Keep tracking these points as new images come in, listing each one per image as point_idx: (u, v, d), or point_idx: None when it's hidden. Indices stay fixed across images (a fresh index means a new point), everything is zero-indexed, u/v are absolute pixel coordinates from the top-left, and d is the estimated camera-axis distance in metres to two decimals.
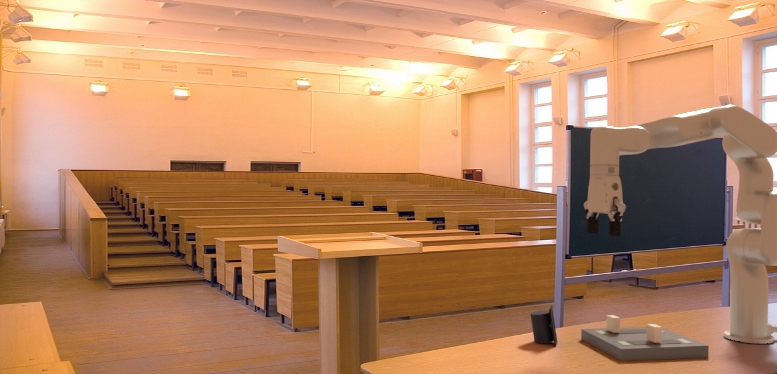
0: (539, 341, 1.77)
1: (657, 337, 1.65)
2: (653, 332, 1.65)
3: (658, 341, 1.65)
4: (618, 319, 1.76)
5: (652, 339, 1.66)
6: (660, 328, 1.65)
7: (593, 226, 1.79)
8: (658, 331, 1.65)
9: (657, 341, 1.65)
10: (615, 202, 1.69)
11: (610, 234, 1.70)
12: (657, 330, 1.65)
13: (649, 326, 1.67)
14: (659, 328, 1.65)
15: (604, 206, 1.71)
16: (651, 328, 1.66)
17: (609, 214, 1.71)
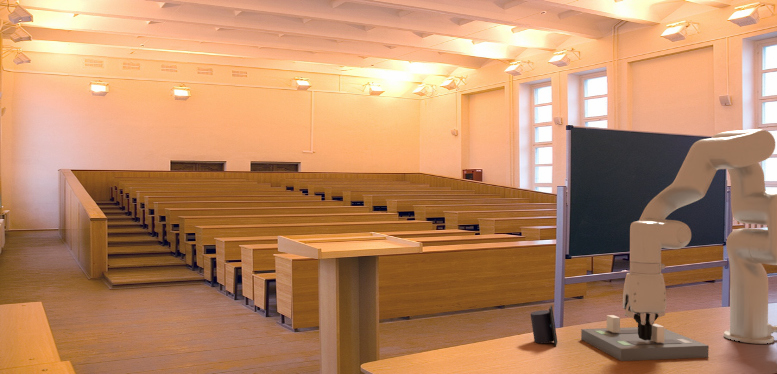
0: (539, 341, 1.77)
1: (660, 337, 1.65)
2: (656, 332, 1.66)
3: (661, 341, 1.65)
4: (618, 319, 1.76)
5: (655, 339, 1.66)
6: (663, 328, 1.65)
7: None
8: (661, 331, 1.65)
9: (660, 341, 1.65)
10: None
11: None
12: (660, 330, 1.65)
13: (652, 326, 1.67)
14: (662, 328, 1.65)
15: (662, 305, 1.65)
16: (653, 328, 1.67)
17: (652, 316, 1.65)
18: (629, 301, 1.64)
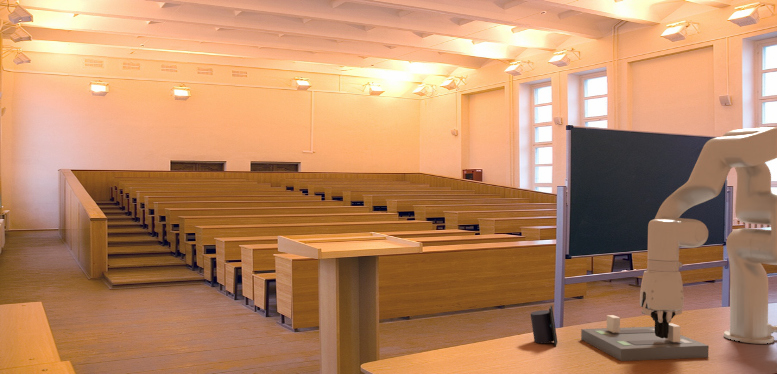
0: (539, 341, 1.77)
1: (676, 336, 1.66)
2: (672, 331, 1.66)
3: (677, 340, 1.66)
4: (618, 319, 1.76)
5: (671, 338, 1.67)
6: (679, 327, 1.66)
7: None
8: (677, 330, 1.66)
9: (676, 340, 1.66)
10: None
11: None
12: (676, 330, 1.66)
13: None
14: (678, 327, 1.66)
15: (679, 303, 1.65)
16: (669, 327, 1.67)
17: (669, 314, 1.66)
18: (646, 299, 1.65)
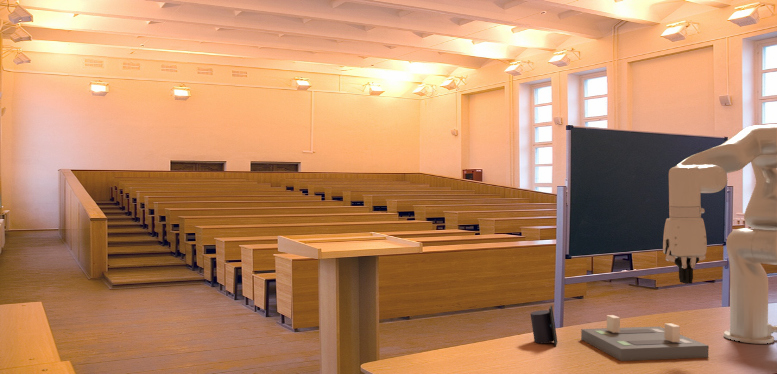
0: (539, 341, 1.77)
1: (675, 336, 1.66)
2: (671, 331, 1.66)
3: (676, 340, 1.66)
4: (618, 319, 1.76)
5: (670, 338, 1.67)
6: (678, 327, 1.66)
7: None
8: (676, 330, 1.66)
9: (675, 340, 1.66)
10: None
11: None
12: (675, 330, 1.66)
13: (667, 325, 1.68)
14: (677, 327, 1.66)
15: (703, 248, 1.67)
16: (669, 327, 1.67)
17: (693, 260, 1.67)
18: (670, 245, 1.66)
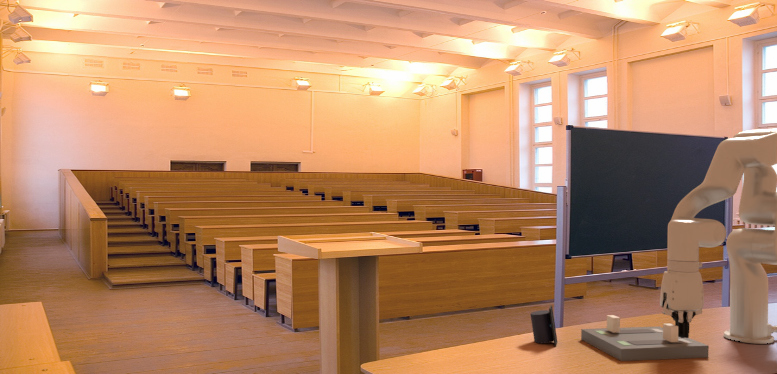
0: (539, 341, 1.77)
1: (673, 336, 1.66)
2: (669, 331, 1.66)
3: (674, 340, 1.66)
4: (618, 319, 1.76)
5: (668, 338, 1.67)
6: (676, 327, 1.66)
7: None
8: (674, 330, 1.66)
9: (673, 340, 1.66)
10: None
11: None
12: (674, 330, 1.66)
13: (665, 325, 1.68)
14: (675, 327, 1.66)
15: (699, 303, 1.66)
16: (667, 327, 1.67)
17: (690, 314, 1.67)
18: (667, 299, 1.66)
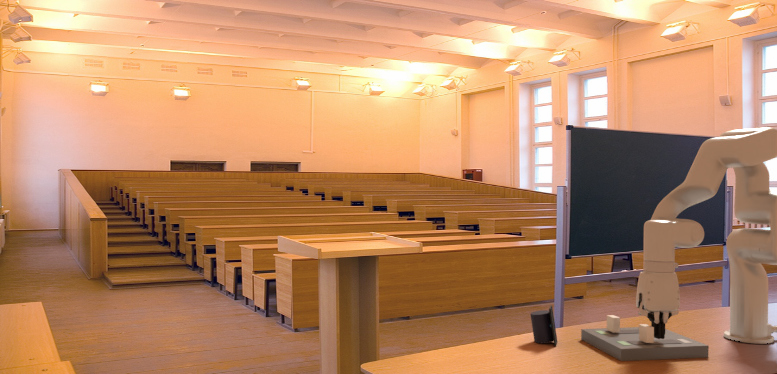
0: (539, 341, 1.77)
1: (649, 337, 1.65)
2: (645, 332, 1.65)
3: (650, 341, 1.65)
4: (618, 319, 1.76)
5: (644, 339, 1.65)
6: (652, 328, 1.65)
7: None
8: (650, 331, 1.65)
9: (649, 341, 1.65)
10: None
11: None
12: (649, 331, 1.65)
13: (641, 326, 1.67)
14: (651, 328, 1.65)
15: (675, 304, 1.65)
16: (643, 328, 1.66)
17: (666, 315, 1.66)
18: (643, 300, 1.65)
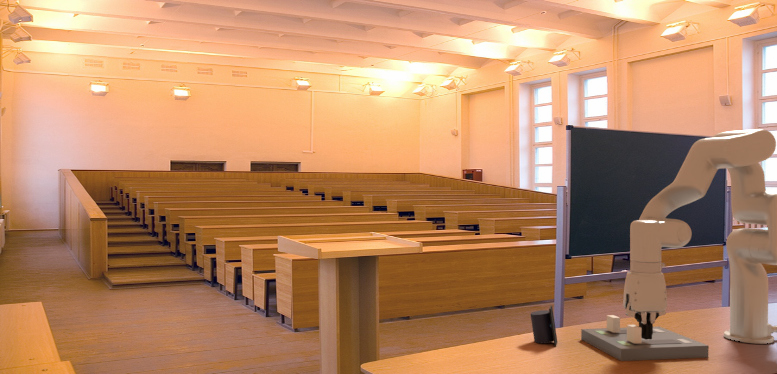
0: (539, 341, 1.77)
1: (637, 338, 1.64)
2: (633, 333, 1.65)
3: (638, 342, 1.64)
4: (618, 319, 1.76)
5: (632, 340, 1.65)
6: (640, 329, 1.64)
7: None
8: (638, 332, 1.64)
9: (637, 342, 1.64)
10: None
11: None
12: (637, 331, 1.64)
13: (629, 327, 1.66)
14: (639, 329, 1.64)
15: (663, 304, 1.65)
16: (631, 328, 1.66)
17: (653, 315, 1.65)
18: (630, 300, 1.64)
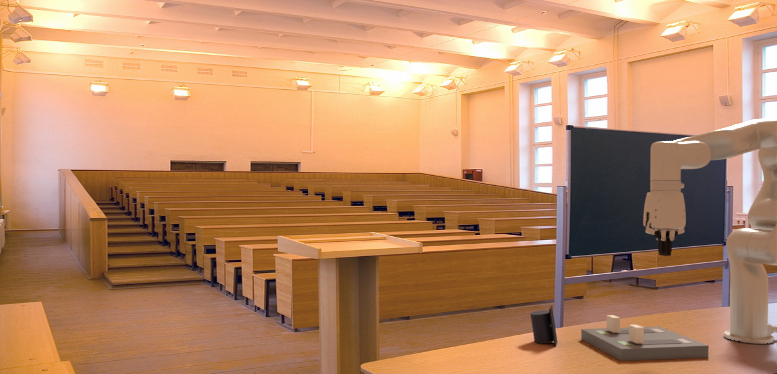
0: (539, 341, 1.77)
1: (639, 338, 1.64)
2: (635, 333, 1.65)
3: (640, 342, 1.64)
4: (618, 319, 1.76)
5: (634, 340, 1.65)
6: (642, 329, 1.64)
7: None
8: (640, 332, 1.64)
9: (639, 342, 1.64)
10: None
11: None
12: (639, 331, 1.64)
13: (631, 327, 1.66)
14: (641, 329, 1.64)
15: (681, 222, 1.71)
16: (633, 328, 1.66)
17: (672, 232, 1.71)
18: (650, 218, 1.71)
